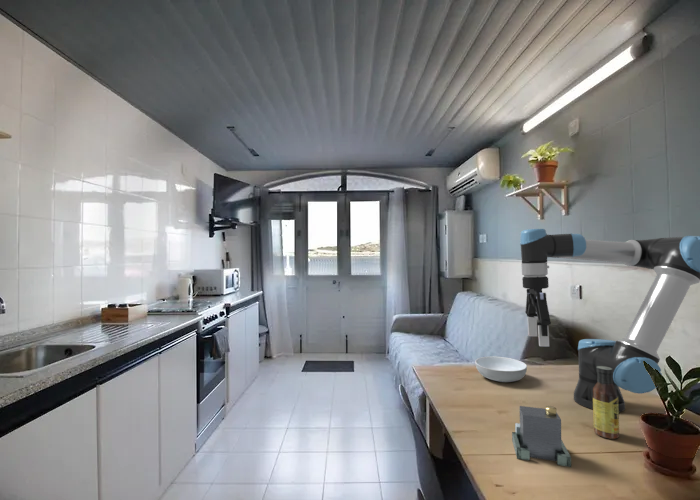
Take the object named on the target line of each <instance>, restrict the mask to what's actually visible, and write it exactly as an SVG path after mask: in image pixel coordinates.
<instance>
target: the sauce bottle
mask: <svg viewBox="0 0 700 500" xmlns="http://www.w3.org/2000/svg"><path fill="white" fill-rule="evenodd" d="M596 372H597V381H598V382H597V383H596V385H595V386H594V387H593V409H592V414H593V415H592V417H593V418H592V420H593V430H594V434H596V435H597V436H599V437H601V438H604V439H610V440H616V439H618V438H619V435H620V418H619V417H620V415H619V413H620V412H619V407H618V395H617V392H616V390H615V388H614V385H613V381H612V374H613V369H612V368H610V367H606V366H597V367H596Z"/></svg>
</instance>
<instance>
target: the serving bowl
mask: <svg viewBox="0 0 700 500" xmlns="http://www.w3.org/2000/svg"><path fill="white" fill-rule="evenodd" d="M474 363H475V367H476V370H477V371H478V373H479V374H480V375H482V377H484V378H487V379H489V380H491V381H495V382H499V383H511V382H517V381H520V380H521V379H523V378H524V377H525V376H526V374H527V370H528V365H527V364H526V363H525V362H523V361H521V360H519V359H516V358H515V359H514V358H510V357H505V356H493V355H490V356H483V357H478V358H476V359H475V361H474Z"/></svg>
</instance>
